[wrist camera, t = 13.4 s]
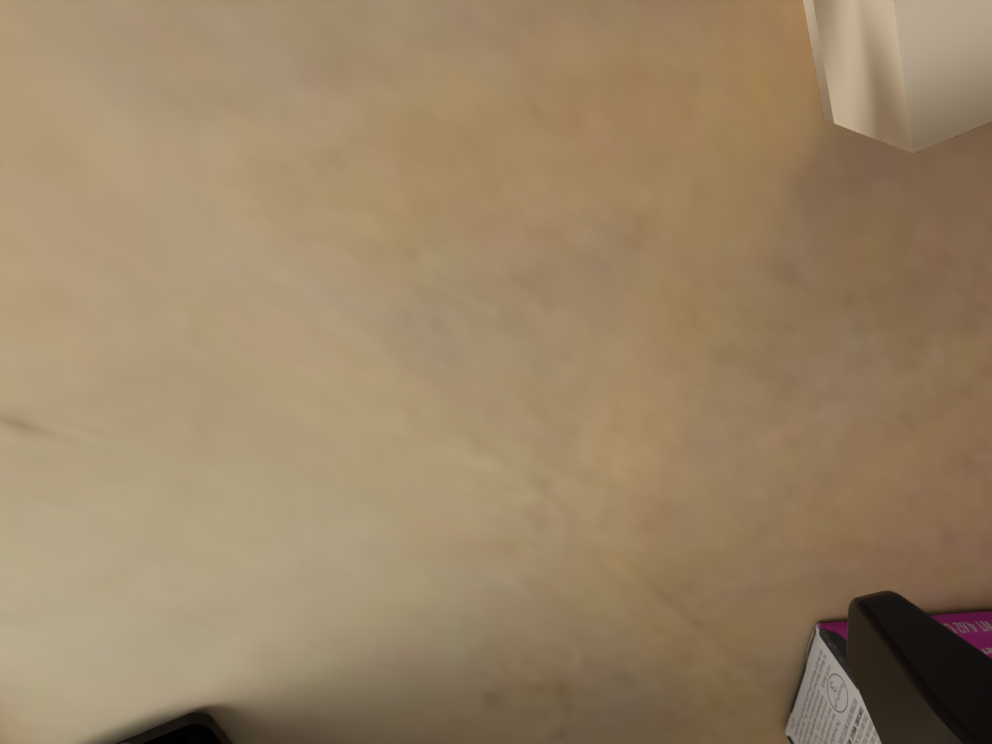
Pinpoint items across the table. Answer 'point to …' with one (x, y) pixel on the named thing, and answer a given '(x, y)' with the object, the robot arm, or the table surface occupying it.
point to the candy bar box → (852, 683)
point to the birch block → (903, 67)
